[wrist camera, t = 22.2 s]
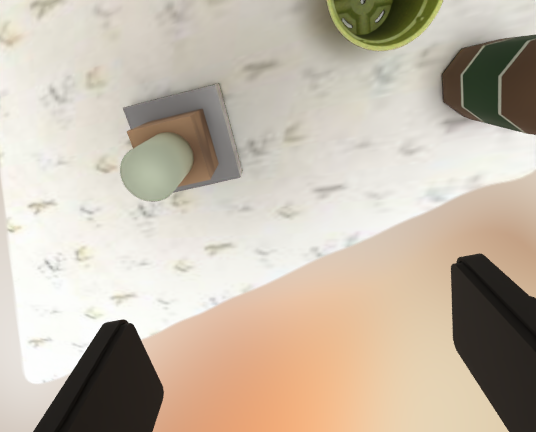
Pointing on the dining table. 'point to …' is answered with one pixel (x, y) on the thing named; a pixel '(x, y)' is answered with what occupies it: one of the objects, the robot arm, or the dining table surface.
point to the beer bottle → (495, 83)
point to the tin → (157, 166)
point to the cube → (192, 131)
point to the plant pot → (383, 21)
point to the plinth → (215, 118)
